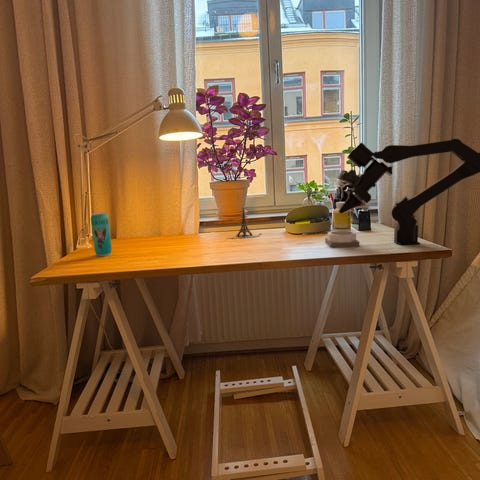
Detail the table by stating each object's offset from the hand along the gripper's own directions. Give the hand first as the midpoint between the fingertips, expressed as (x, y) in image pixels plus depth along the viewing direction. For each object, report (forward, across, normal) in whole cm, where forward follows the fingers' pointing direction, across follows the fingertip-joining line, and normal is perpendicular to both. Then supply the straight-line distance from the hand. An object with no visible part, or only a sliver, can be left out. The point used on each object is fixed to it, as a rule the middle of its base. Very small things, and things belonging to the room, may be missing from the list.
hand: (337, 211), depth 135 cm
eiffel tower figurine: (+32, -26, -15) cm, 44 cm away
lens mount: (+7, 0, +9) cm, 12 cm away
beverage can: (+66, 0, -51) cm, 84 cm away
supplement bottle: (+4, 0, +6) cm, 7 cm away
